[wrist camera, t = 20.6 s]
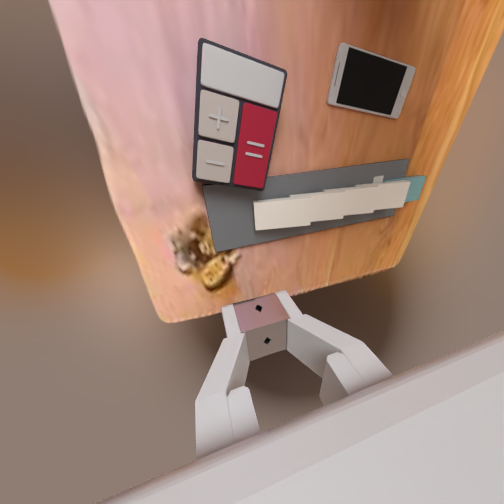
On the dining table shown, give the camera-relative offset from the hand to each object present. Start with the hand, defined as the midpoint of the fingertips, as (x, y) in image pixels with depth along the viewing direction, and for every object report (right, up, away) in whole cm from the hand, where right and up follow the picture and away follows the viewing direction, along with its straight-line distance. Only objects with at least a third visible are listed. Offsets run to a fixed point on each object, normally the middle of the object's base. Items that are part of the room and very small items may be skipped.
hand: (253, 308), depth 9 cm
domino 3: (+14, +12, +28) cm, 34 cm away
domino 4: (+21, +13, +30) cm, 39 cm away
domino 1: (0, +9, +25) cm, 27 cm away
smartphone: (+19, +30, +23) cm, 43 cm away
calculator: (-3, +21, +20) cm, 29 cm away
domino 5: (+27, +15, +31) cm, 44 cm away
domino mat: (+12, +12, +29) cm, 34 cm away
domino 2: (+7, +10, +27) cm, 30 cm away
